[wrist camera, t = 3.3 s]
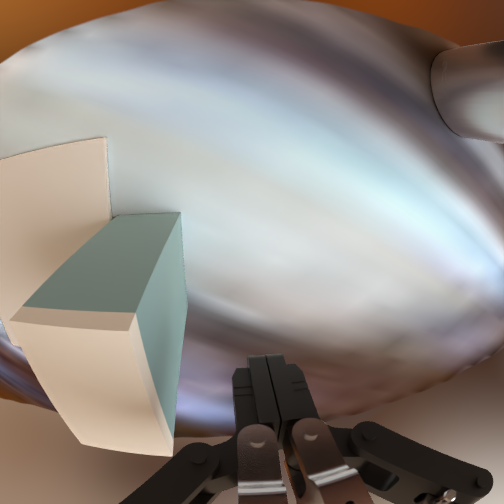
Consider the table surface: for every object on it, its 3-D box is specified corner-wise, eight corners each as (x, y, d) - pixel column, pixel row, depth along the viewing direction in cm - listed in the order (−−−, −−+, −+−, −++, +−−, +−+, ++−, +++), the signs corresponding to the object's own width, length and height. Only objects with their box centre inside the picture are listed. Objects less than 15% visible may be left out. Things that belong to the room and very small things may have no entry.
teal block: (180, 212, 20) (128, 331, 8) (187, 305, 23) (172, 456, 10) (117, 215, 20) (9, 320, 7) (131, 305, 23) (81, 443, 10)
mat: (107, 137, 18) (104, 137, 17) (139, 356, 25) (138, 360, 24) (-30, 170, 16) (-34, 171, 15) (14, 342, 23) (12, 345, 22)
